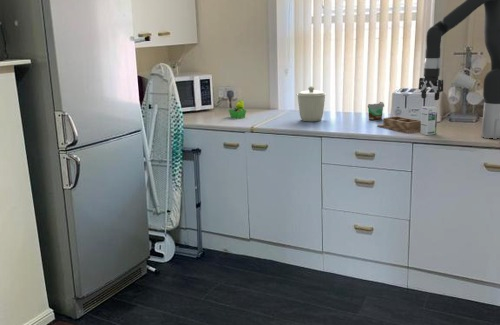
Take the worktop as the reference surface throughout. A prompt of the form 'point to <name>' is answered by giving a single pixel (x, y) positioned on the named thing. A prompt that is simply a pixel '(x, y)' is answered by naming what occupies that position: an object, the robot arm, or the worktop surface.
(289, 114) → the worktop surface
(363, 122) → the worktop surface
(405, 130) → the walnut socket rail
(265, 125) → the worktop surface
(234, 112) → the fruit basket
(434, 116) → the syrup box
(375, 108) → the food container
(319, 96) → the canister
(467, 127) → the worktop surface
